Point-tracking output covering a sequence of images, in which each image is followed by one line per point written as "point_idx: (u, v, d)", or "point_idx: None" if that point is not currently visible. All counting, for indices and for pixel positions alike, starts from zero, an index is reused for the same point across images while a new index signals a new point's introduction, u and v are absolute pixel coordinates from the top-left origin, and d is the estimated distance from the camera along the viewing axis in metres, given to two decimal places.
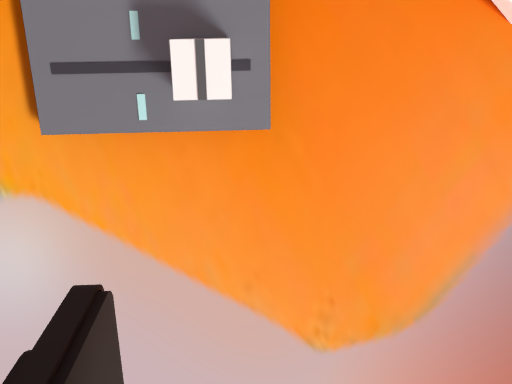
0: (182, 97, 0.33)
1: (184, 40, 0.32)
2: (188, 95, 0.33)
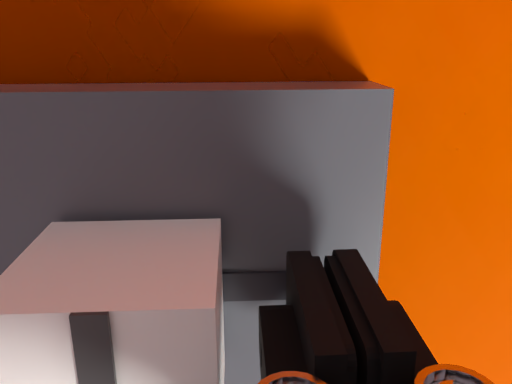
0: None
1: None
2: None
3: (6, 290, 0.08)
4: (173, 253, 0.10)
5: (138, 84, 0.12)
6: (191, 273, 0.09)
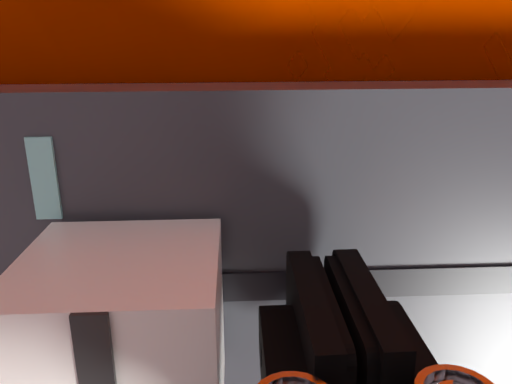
0: None
1: None
2: None
3: (6, 290, 0.08)
4: (173, 254, 0.10)
5: (362, 82, 0.13)
6: (190, 273, 0.09)
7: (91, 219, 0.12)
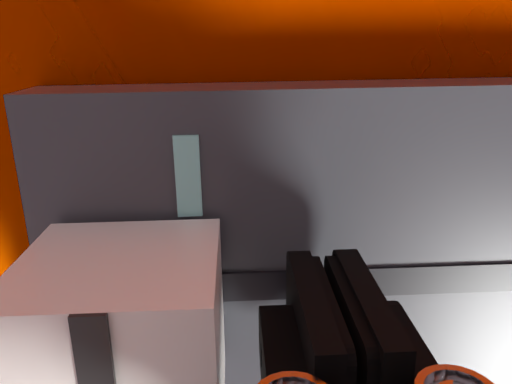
0: None
1: None
2: None
3: (5, 292, 0.08)
4: (172, 254, 0.10)
5: (487, 78, 0.13)
6: (189, 274, 0.09)
7: (229, 215, 0.12)
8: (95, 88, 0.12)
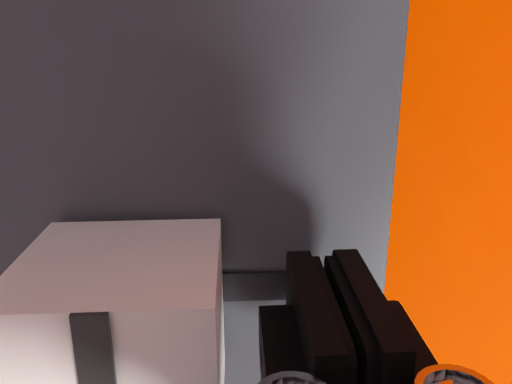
0: None
1: (25, 318, 0.08)
2: None
3: None
4: None
5: None
6: None
7: None
8: None
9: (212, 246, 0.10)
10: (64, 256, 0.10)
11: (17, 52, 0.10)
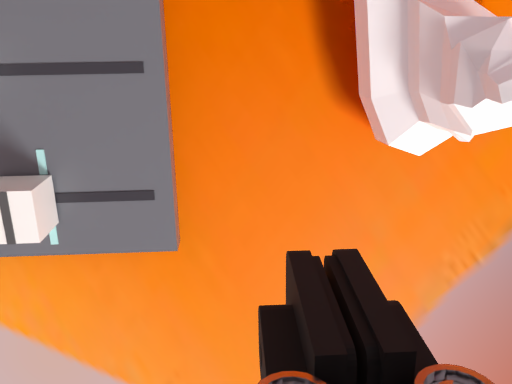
0: None
1: None
2: None
3: None
4: None
5: None
6: None
7: None
8: None
9: (42, 181, 0.36)
10: (0, 183, 0.36)
11: (55, 125, 0.37)
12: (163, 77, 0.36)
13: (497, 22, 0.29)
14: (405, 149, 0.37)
